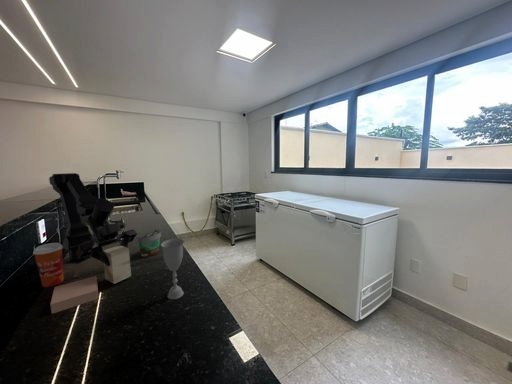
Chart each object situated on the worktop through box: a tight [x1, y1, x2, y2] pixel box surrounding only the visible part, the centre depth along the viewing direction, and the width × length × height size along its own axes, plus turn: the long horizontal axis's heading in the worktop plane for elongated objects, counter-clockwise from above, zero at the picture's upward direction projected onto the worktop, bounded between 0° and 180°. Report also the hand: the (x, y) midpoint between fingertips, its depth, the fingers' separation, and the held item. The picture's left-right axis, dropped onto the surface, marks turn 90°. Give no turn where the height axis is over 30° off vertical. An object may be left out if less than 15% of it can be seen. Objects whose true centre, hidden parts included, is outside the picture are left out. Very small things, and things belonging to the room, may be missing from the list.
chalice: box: [160, 238, 185, 300], centre depth 70 cm, size 7×7×18 cm
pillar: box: [103, 244, 132, 284], centre depth 78 cm, size 6×6×11 cm
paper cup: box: [32, 242, 64, 288], centre depth 77 cm, size 8×8×14 cm
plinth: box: [50, 275, 99, 314], centre depth 69 cm, size 11×11×3 cm
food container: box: [137, 229, 162, 259], centre depth 101 cm, size 12×6×10 cm, turn 168°
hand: (118, 261), depth 77 cm, fingers closed on pillar, 6 cm apart
